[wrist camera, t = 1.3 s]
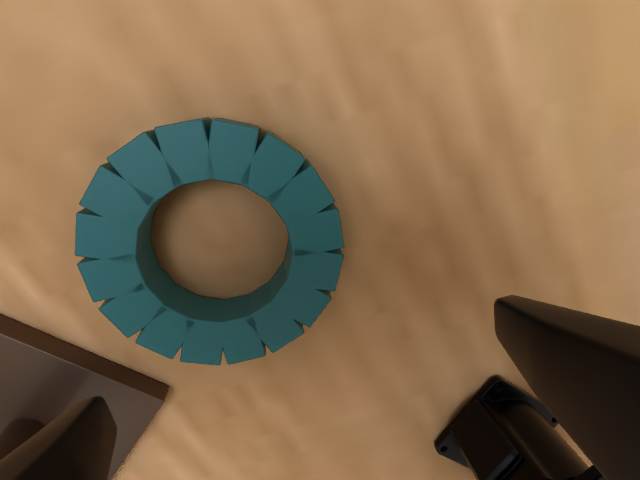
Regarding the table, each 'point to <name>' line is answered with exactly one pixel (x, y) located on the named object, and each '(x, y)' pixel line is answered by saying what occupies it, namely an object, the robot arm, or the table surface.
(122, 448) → the stand
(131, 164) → the hoop
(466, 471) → the table surface
